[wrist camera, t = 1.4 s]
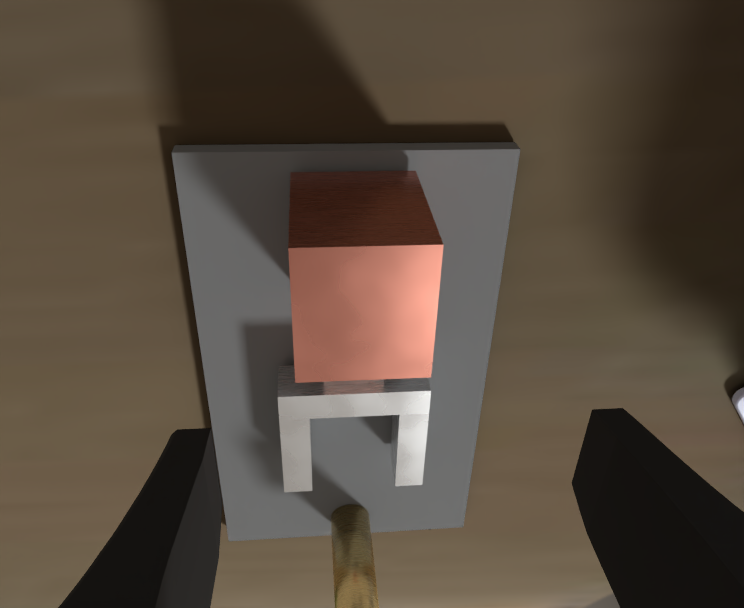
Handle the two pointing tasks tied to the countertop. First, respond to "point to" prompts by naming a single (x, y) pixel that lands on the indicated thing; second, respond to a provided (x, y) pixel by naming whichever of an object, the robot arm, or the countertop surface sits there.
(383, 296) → the pink cube with handle
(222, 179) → the mat
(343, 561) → the keeper post
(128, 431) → the countertop surface
